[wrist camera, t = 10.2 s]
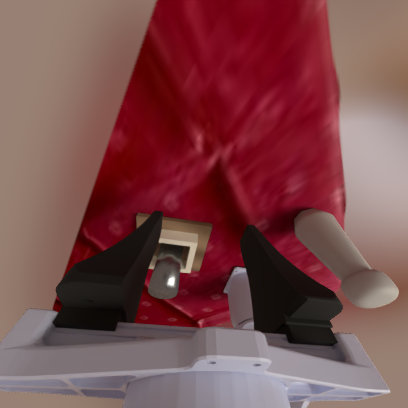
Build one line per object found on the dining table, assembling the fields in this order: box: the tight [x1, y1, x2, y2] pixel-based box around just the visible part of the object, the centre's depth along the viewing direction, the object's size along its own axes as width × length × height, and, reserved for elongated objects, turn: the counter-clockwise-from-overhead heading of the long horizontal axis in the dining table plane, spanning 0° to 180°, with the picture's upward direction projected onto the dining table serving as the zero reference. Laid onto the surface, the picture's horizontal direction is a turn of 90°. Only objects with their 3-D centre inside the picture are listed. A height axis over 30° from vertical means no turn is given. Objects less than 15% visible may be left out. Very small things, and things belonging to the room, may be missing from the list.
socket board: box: [136, 213, 212, 273], centre depth 29 cm, size 12×12×3 cm
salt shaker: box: [294, 208, 399, 308], centre depth 21 cm, size 6×6×13 cm
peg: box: [148, 243, 183, 299], centre depth 26 cm, size 4×4×8 cm
